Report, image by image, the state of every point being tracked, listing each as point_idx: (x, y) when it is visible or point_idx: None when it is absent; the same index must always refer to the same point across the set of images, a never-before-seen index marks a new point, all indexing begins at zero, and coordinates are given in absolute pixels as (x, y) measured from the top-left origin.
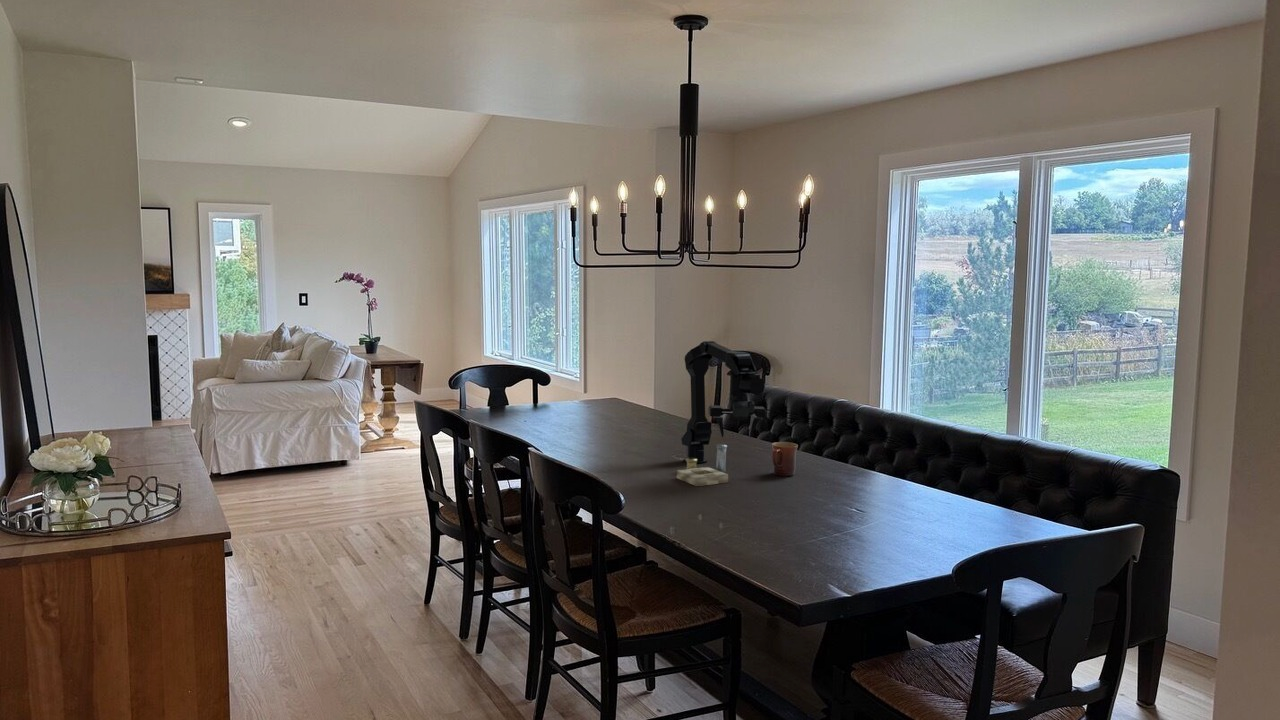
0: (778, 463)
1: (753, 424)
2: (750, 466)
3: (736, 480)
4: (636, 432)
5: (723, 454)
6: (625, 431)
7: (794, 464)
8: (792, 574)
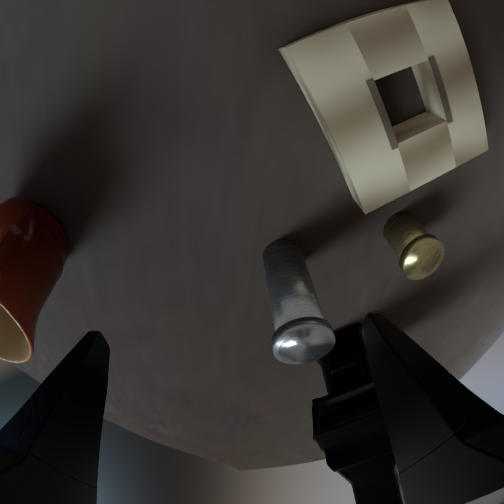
0: (20, 231)
1: (22, 437)
2: (164, 325)
3: (227, 91)
4: None
5: (289, 296)
6: None
7: None
8: None
